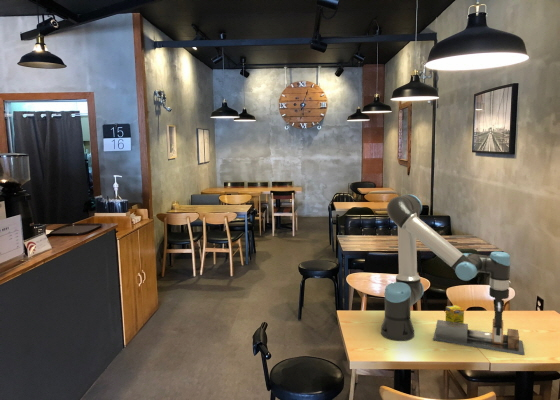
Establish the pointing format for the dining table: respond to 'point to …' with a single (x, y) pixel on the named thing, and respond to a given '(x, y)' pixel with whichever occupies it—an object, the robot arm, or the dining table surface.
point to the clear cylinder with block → (487, 335)
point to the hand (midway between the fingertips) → (497, 339)
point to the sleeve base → (458, 335)
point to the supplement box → (455, 314)
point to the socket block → (513, 338)
